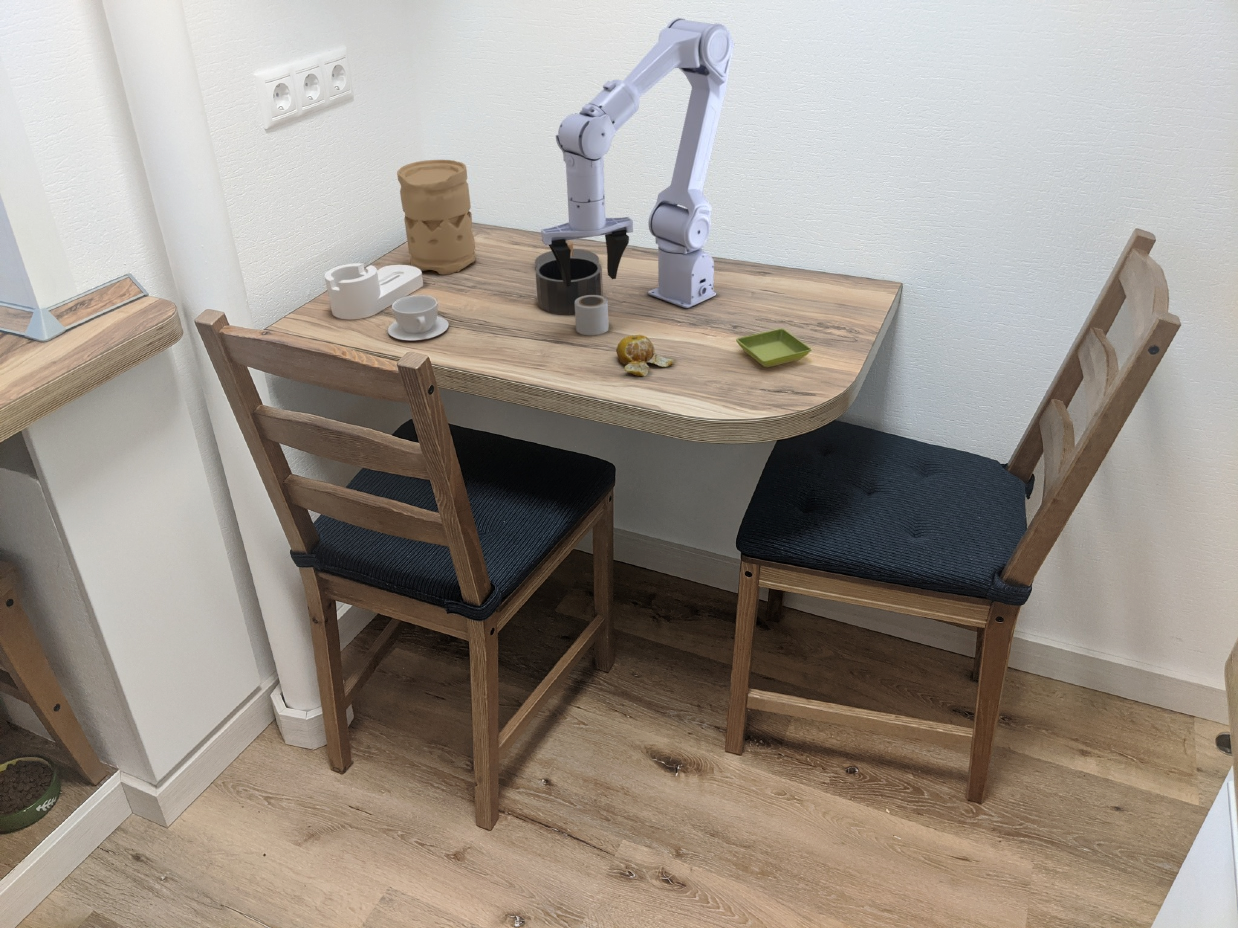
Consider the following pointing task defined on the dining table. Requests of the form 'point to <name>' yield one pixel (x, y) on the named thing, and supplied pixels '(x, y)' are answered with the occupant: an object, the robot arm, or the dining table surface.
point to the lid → (574, 253)
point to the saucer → (773, 347)
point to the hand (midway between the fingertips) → (589, 280)
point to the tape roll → (591, 315)
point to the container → (437, 215)
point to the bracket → (369, 288)
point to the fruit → (639, 355)
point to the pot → (555, 292)
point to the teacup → (416, 318)
